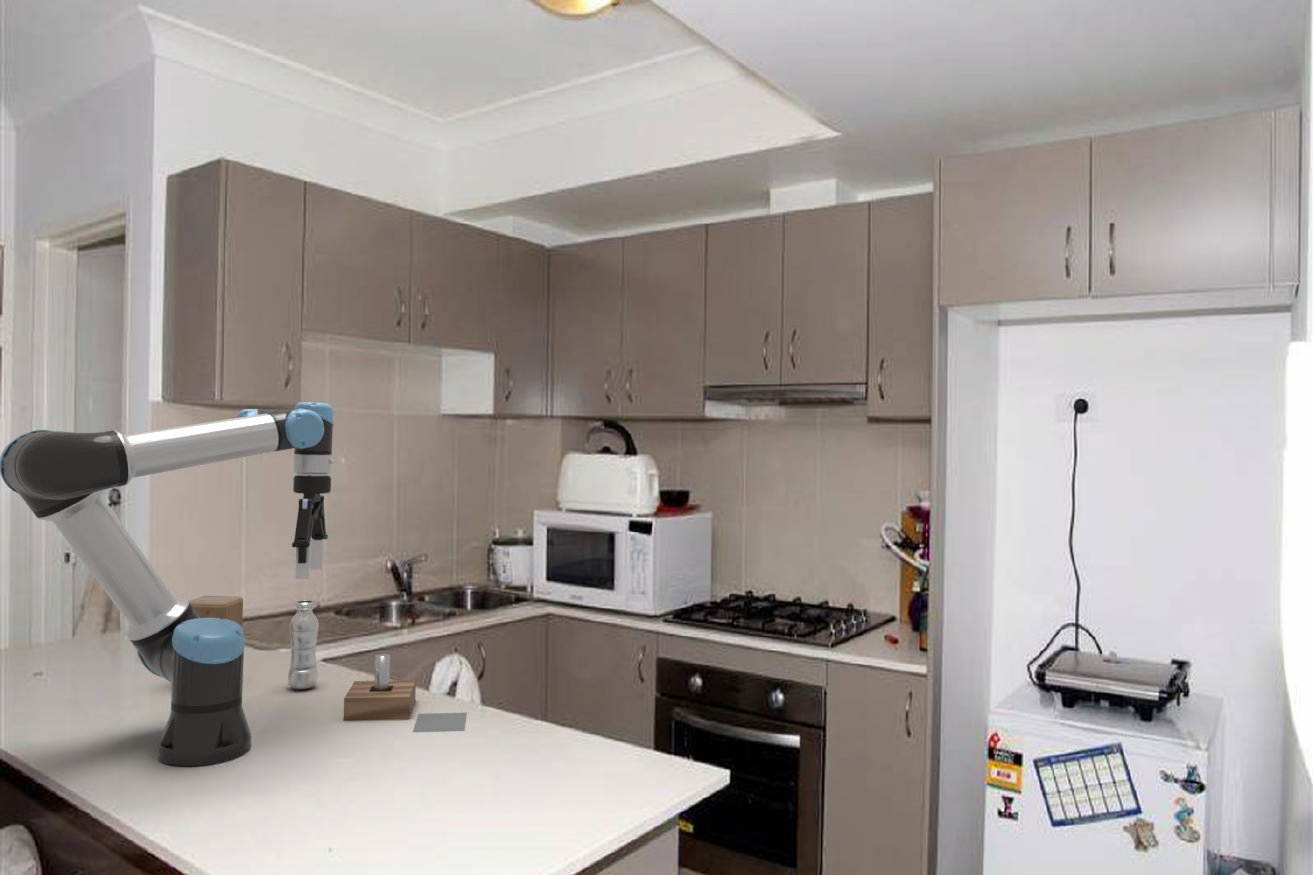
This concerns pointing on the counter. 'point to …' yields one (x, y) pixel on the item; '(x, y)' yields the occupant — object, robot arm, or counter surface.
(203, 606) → the wooden block
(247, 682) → the counter surface
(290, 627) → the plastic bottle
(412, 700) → the walnut socket block
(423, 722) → the rubber mat
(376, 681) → the steel pin
